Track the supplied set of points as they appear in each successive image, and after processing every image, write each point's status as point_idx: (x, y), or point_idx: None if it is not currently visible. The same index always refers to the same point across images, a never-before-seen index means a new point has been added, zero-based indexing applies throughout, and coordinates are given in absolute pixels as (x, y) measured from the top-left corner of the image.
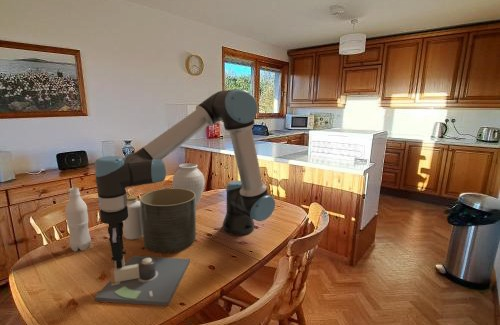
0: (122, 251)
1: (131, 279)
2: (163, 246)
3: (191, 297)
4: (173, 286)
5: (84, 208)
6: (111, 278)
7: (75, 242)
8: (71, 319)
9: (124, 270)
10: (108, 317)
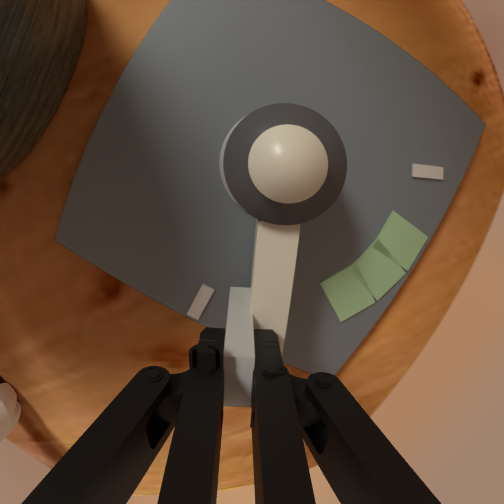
0: (222, 385)
1: None
2: (47, 71)
3: (459, 39)
4: (414, 68)
5: None
6: None
7: (8, 426)
8: (374, 408)
9: (286, 309)
10: (431, 320)
